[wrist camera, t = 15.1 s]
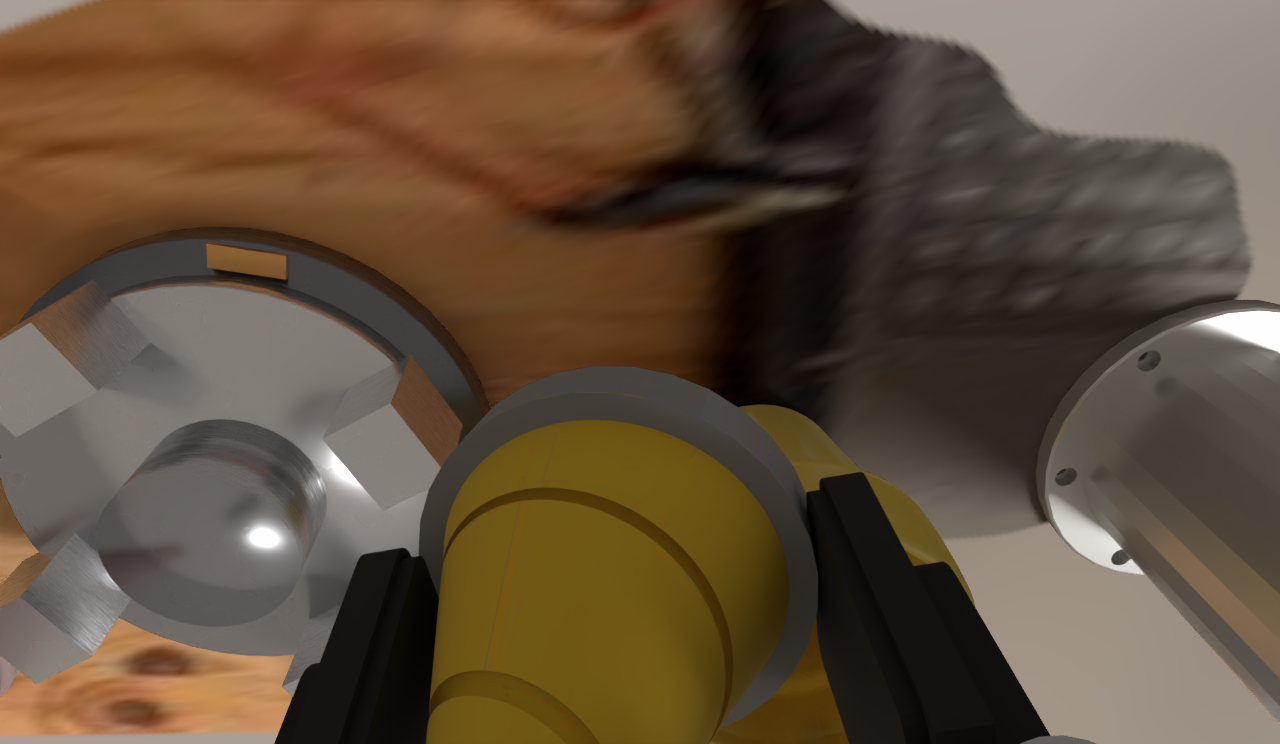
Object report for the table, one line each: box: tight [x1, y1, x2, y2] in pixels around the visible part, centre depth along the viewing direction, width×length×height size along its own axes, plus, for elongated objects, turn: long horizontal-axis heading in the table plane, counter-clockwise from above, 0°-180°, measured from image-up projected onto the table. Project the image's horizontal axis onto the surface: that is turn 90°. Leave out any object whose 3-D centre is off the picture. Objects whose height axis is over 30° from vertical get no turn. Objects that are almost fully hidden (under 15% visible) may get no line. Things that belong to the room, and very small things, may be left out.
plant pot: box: [709, 405, 975, 744], centre depth 29 cm, size 10×10×10 cm
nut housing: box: [17, 227, 490, 444], centre depth 31 cm, size 17×17×2 cm
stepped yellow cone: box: [419, 366, 818, 744], centre depth 10 cm, size 5×5×10 cm
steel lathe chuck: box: [0, 275, 463, 696], centre depth 28 cm, size 15×15×4 cm
